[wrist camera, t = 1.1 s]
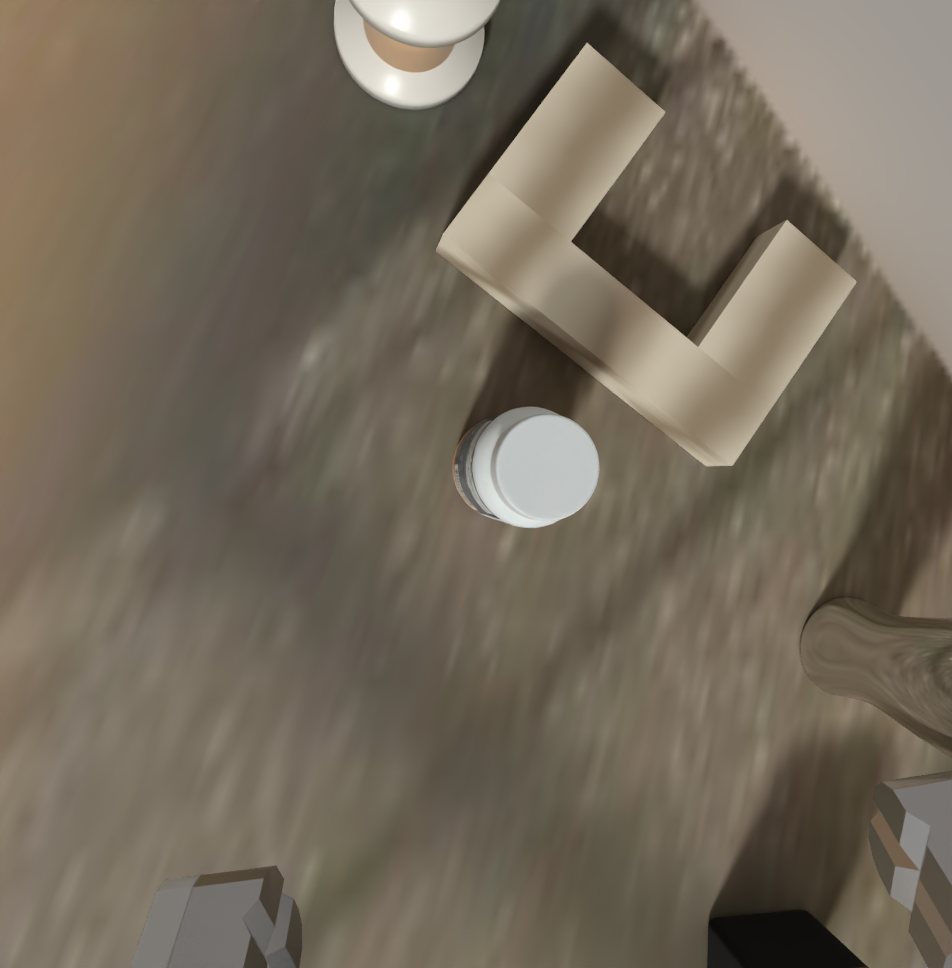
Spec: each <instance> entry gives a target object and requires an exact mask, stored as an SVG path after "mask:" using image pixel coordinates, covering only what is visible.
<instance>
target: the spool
mask: <svg viewBox="0 0 952 968" xmlns="http://www.w3.org/2000/svg"><path fill="white" fill-rule="evenodd" d="M499 2H500V0H336V2H335V8H334V34H335V42H336V46H337V50H338V53H339V56H340V58H341V60H342V62H343V64H344V66H345V68H346V70H347V71H348V73H349V74H350V76H351V77H352V78H353V80H354V81H355V82H356V83H357V84H358V85H359V86H360V87H361V88H362V89H363V90H364V91H365V92H367V93H368V94H369V95H371V96H372V97H374V98H375V99H377V100H379V101H381V102H383V103H385V104H388V105H390V106H393V107H397V108H400V109H407V110H424V109H430V108H434V107H437V106H440V105H442V104H445V103H447V102H448V101H450V100H452V99H453V98H455V97H456V96H457V95H458V94H460V93H461V92H462V91H463V90H464V88H465V87H466V86H467V85H468V83H469V82H470V80H471V79H472V77H473V75H474V73H475V71H476V69H477V66H478V63H479V60H480V57H481V54H482V51H483V45H484V32H485V31H484V26H485V24H486V23H487V22H488V21H489V20H490V18H491V17H492V15H493V14H494V12H495V11H496V9H497V7H498V4H499Z"/></svg>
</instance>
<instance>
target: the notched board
mask: <svg viewBox="0 0 952 968" xmlns="http://www.w3.org/2000/svg"><path fill="white" fill-rule="evenodd" d="M664 114H665V111H664V110H663V109H661V108H660V107H659V106H658V105H657V104H656V103H655V102H654V101H652V100H651V99H650V98H649V97H648V96H647V95H646V94H644V93H643V92H642V91H641V90H640V89H639V88H638V87H637V86H635V85H634V84H633V83H632V82H631V81H630V80H629V79H628V78H626V77H625V76H624V75H623V74H622V73H621V72H620V71H619V70H617V69H616V68H615V67H614V66H613V65H612V64H611V63H610V62H608V61H607V60H606V59H605V58H604V57H603V56H602V55H600V54H599V53H598V52H597V51H596V50H595V49H594V48H593V47H591V46H590V45H589V44H588V43H586V45H585V46H584V47H583V49H582V50H581V51H580V53H579V54H578V55H577V57H576V58H575V59H574V61H573V62H572V63H571V65H570V66H569V67H568V69H567V70H566V71H565V73H564V74H563V75H562V76H561V78H560V79H559V80H558V82H557V83H556V84H555V86H554V87H553V88H552V90H551V91H550V92H549V94H548V95H547V96H546V98H545V99H544V100H543V102H542V103H541V104H540V106H539V107H538V108H537V110H536V111H535V112H534V114H533V115H532V116H531V118H530V119H529V120H528V122H527V123H526V124H525V126H524V127H523V128H522V130H521V131H520V132H519V134H518V135H517V136H516V138H515V139H514V140H513V142H512V143H511V144H510V146H509V147H508V148H507V150H506V151H505V152H504V153H503V155H502V156H501V157H500V159H499V160H498V161H497V163H496V164H495V165H494V167H493V168H492V169H491V171H490V172H489V173H488V175H487V176H486V177H485V179H484V180H483V181H482V183H481V184H480V185H479V187H478V188H477V189H476V191H475V192H474V193H473V195H472V196H471V197H470V199H469V200H468V201H467V203H466V204H465V205H464V207H463V208H462V209H461V211H460V212H459V213H458V215H457V216H456V217H455V219H454V220H453V221H452V223H451V224H450V225H449V227H448V228H447V229H446V231H445V232H444V233H443V235H442V237H441V240H440V242H439V244H438V246H437V248H436V252H437V253H439V254H440V255H441V256H442V257H444V258H445V259H446V260H447V261H449V262H450V263H451V264H452V265H454V266H455V267H456V268H457V269H459V270H460V271H461V272H462V273H464V274H465V275H466V276H467V277H469V278H470V279H471V280H472V281H474V282H475V283H476V284H477V285H479V286H480V287H481V288H483V289H484V290H485V291H486V292H488V293H489V294H490V295H491V296H493V297H494V298H495V299H496V300H498V301H499V302H500V303H501V304H503V305H504V306H505V307H506V308H508V309H509V310H510V311H511V312H513V313H514V314H515V315H516V316H518V317H519V318H520V319H522V320H523V321H524V322H525V323H527V324H528V325H529V326H530V327H532V328H533V329H534V330H535V331H537V332H538V333H539V334H540V335H542V336H543V337H544V338H545V339H547V340H548V341H549V342H550V343H552V344H553V345H554V346H555V347H557V348H558V349H559V350H560V351H562V352H563V353H564V354H566V355H567V356H568V357H569V358H571V359H572V360H573V361H574V362H576V363H577V364H578V365H579V366H581V367H582V368H583V369H584V370H586V371H587V372H588V373H589V374H591V375H592V376H593V377H594V378H596V379H597V380H598V381H599V382H601V383H602V384H603V385H605V386H606V387H607V388H608V389H610V390H611V391H612V392H613V393H615V394H616V395H617V396H618V397H620V398H621V399H622V400H623V401H625V402H626V403H627V404H628V405H630V406H631V407H632V408H633V409H635V410H636V411H637V412H638V413H640V414H641V415H642V416H643V417H645V418H646V419H647V420H649V421H650V422H651V423H652V424H654V425H655V426H656V427H657V428H659V429H660V430H661V431H662V432H664V433H665V434H666V435H667V436H669V437H670V438H671V439H672V440H674V441H675V442H676V443H677V444H679V445H680V446H681V447H682V448H684V449H685V450H686V451H688V452H689V453H690V454H691V455H693V456H694V457H695V458H696V459H698V460H699V461H700V462H701V463H703V464H704V465H705V466H733V464H734V463H735V461H736V460H737V458H738V457H739V455H740V454H741V452H742V451H743V449H744V448H745V446H746V445H747V443H748V442H749V440H750V439H751V437H752V436H753V435H754V433H755V432H756V430H757V429H758V427H759V426H760V424H761V423H762V421H763V420H764V418H765V417H766V415H767V414H768V412H769V411H770V409H771V408H772V406H773V405H774V404H775V402H776V401H777V399H778V398H779V396H780V395H781V393H782V392H783V390H784V389H785V387H786V386H787V384H788V383H789V381H790V380H791V378H792V377H793V375H794V374H795V372H796V371H797V370H798V368H799V367H800V365H801V364H802V362H803V361H804V359H805V358H806V356H807V355H808V353H809V352H810V350H811V349H812V347H813V346H814V344H815V343H816V341H817V340H818V339H819V337H820V336H821V334H822V333H823V331H824V330H825V328H826V327H827V325H828V324H829V322H830V321H831V319H832V318H833V316H834V315H835V313H836V312H837V310H838V309H839V307H840V306H841V305H842V303H843V302H844V300H845V299H846V297H847V296H848V294H849V293H850V291H851V290H852V288H853V287H854V285H855V284H856V282H857V281H855V280H854V279H853V278H852V277H851V276H850V275H849V274H848V273H846V272H845V271H844V270H843V269H842V268H841V267H840V266H839V265H837V264H836V263H835V262H834V261H833V260H832V259H831V258H829V257H828V256H827V255H826V254H825V253H824V252H823V251H822V250H820V249H819V248H818V247H817V246H816V245H815V244H814V243H813V242H811V241H810V240H809V239H808V238H807V237H806V236H805V235H804V234H802V233H801V232H800V231H799V230H798V229H797V228H796V227H795V226H793V225H792V224H791V223H790V222H789V221H788V220H785V221H784V222H782V223H780V224H778V225H776V226H775V227H773V228H771V229H769V230H768V231H766V232H764V233H762V234H760V235H759V236H757V237H756V238H755V240H754V241H753V243H752V244H751V246H750V247H749V248H748V250H747V251H746V253H745V254H744V256H743V257H742V258H741V260H740V261H739V263H738V264H737V266H736V267H735V268H734V270H733V271H732V273H731V274H730V276H729V277H728V278H727V280H726V281H725V283H724V284H723V286H722V287H721V288H720V290H719V291H718V293H717V294H716V296H715V297H714V298H713V300H712V301H711V303H710V304H709V306H708V307H707V309H706V310H705V311H704V313H703V314H702V316H701V317H700V319H699V320H698V321H697V323H696V324H695V326H694V327H693V329H692V330H691V331H690V333H689V334H688V336H687V337H685V336H684V335H683V334H682V333H681V332H679V331H678V330H677V329H676V328H675V327H673V326H672V325H671V324H670V323H668V322H667V321H666V320H665V319H664V318H662V317H661V316H660V315H659V314H658V313H656V312H655V311H654V310H653V309H652V308H650V307H649V306H648V305H647V304H646V303H644V302H643V301H642V300H641V299H639V298H638V297H637V296H636V295H635V294H633V293H632V292H631V291H630V290H629V289H627V288H626V287H625V286H624V285H623V284H621V283H620V282H619V281H618V280H617V279H615V278H614V277H613V276H612V275H610V274H609V273H608V272H607V271H606V270H604V269H603V268H602V267H601V266H600V265H598V264H597V263H596V262H595V261H594V260H592V259H591V258H590V257H589V256H588V255H586V254H585V253H584V252H583V251H581V250H580V249H579V248H578V247H577V246H575V245H574V244H573V243H572V242H571V241H572V239H573V238H574V237H575V235H576V234H577V233H578V231H579V230H580V229H581V227H582V226H583V224H584V223H585V222H586V220H587V219H588V218H589V216H590V215H591V213H592V212H593V211H594V209H595V208H596V207H597V205H598V204H599V203H600V201H601V200H602V198H603V197H604V196H605V194H606V193H607V192H608V190H609V189H610V187H611V186H612V185H613V183H614V182H615V181H616V179H617V178H618V177H619V175H620V174H621V172H622V171H623V170H624V168H625V167H626V166H627V164H628V163H629V161H630V160H631V159H632V157H633V156H634V155H635V153H636V152H637V150H638V149H639V148H640V146H641V145H642V144H643V142H644V141H645V140H646V138H647V137H648V135H649V134H650V133H651V131H652V130H653V129H654V127H655V126H656V124H657V123H658V122H659V120H660V119H661V118H662V116H663V115H664Z"/></svg>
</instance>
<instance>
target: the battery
mask: <svg viewBox="0 0 952 968" xmlns="http://www.w3.org/2000/svg"><path fill="white" fill-rule="evenodd" d="M707 968H868V967H867V966H866V965H865V964H864V963H863V962H862V961H861V960H860V959H859V958H858V957H856V956H855V955H854V954H853V953H852V952H851V951H850V950H849V949H848V948H847V947H846V946H845V945H844V944H842V943H841V942H840V941H839V940H838V939H837V938H836V937H835V936H834V935H833V934H832V933H831V932H830V931H828V930H827V929H826V928H825V927H824V926H823V925H822V924H821V923H820V922H819V921H818V920H817V919H816V918H814V917H813V916H812V915H811V914H810V913H809V912H807V911H805V910H799V911H789V912H779V913H769V914H759V915H749V916H739V917H729V918H719V919H714V920H711V921H710V922H709V926H708V966H707Z"/></svg>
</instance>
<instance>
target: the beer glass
mask: <svg viewBox="0 0 952 968" xmlns="http://www.w3.org/2000/svg"><path fill="white" fill-rule="evenodd" d="M800 655H801V661H802V664H803V667H804V670H805V672H806V674H807V675H808V677H809V678H810V679H811V681H812V682H813V683H814V684H815V685H816V686H817V687H819V688H820V689H822V690H823V691H825V692H827V693H830V694H832V695H835V696H840V697H845V698H851V699H857V700H861V701H864V702H867V703H869V704H871V705H873V706H875V707H877V708H878V709H880V710H881V711H883V712H884V713H885V714H887V715H888V716H890V717H891V718H892V719H894V720H895V721H896V722H898V723H899V724H901V725H902V726H903V727H905V728H906V729H908V730H909V731H910V732H912V733H913V734H915V735H916V736H917V737H919V738H920V739H922V740H923V741H925V742H927V743H928V744H930V745H931V746H933V747H934V748H936V749H938V750H939V751H941V752H942V753H944V754H946V755H948V756H950V757H952V618H931V617H904V616H898V615H894V614H890V613H888V612H885V611H883V610H882V609H880V608H878V607H876V606H874V605H872V604H870V603H868V602H866V601H863V600H860V599H857V598H852V597H843V598H836V599H833V600H830V601H828V602H826V603H824V604H823V605H821V606H820V607H819V608H818V609H817V610H816V611H815V612H814V613H813V614H812V615H811V616H810V618H809V619H808V621H807V623H806V625H805V627H804V630H803V633H802V636H801V642H800Z"/></svg>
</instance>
